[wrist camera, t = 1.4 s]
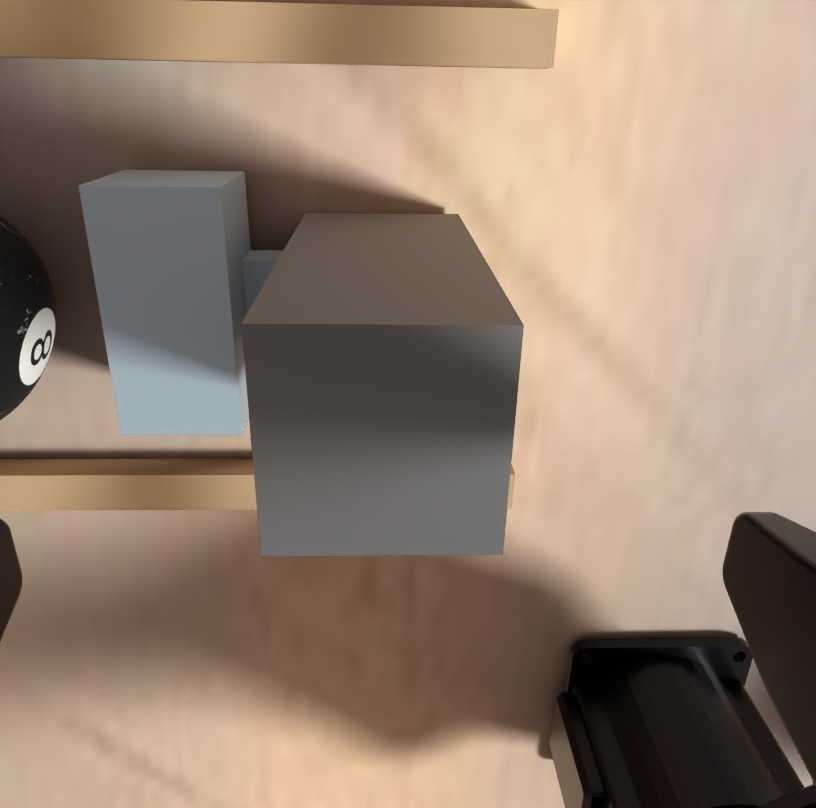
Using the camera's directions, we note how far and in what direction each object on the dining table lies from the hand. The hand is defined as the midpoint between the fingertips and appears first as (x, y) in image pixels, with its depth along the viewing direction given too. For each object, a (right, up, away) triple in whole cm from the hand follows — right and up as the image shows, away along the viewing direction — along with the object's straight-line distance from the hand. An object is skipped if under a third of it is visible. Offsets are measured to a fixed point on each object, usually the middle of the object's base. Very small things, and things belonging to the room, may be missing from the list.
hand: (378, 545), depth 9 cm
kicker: (-3, +5, +10) cm, 12 cm away
